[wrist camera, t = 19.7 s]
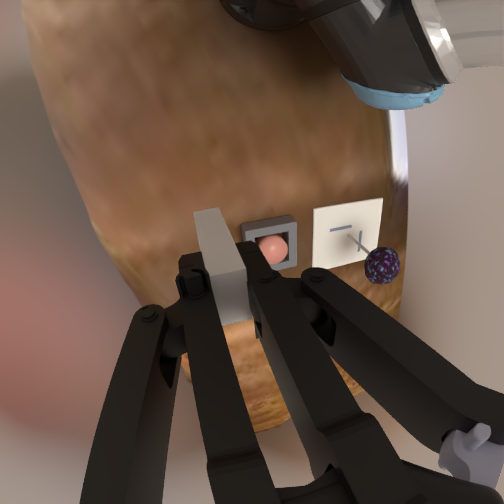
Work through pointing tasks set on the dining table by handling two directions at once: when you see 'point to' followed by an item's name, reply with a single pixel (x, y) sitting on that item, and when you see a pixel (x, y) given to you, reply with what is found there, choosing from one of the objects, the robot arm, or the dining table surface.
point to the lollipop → (380, 263)
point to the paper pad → (345, 232)
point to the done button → (272, 248)
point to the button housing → (272, 227)
